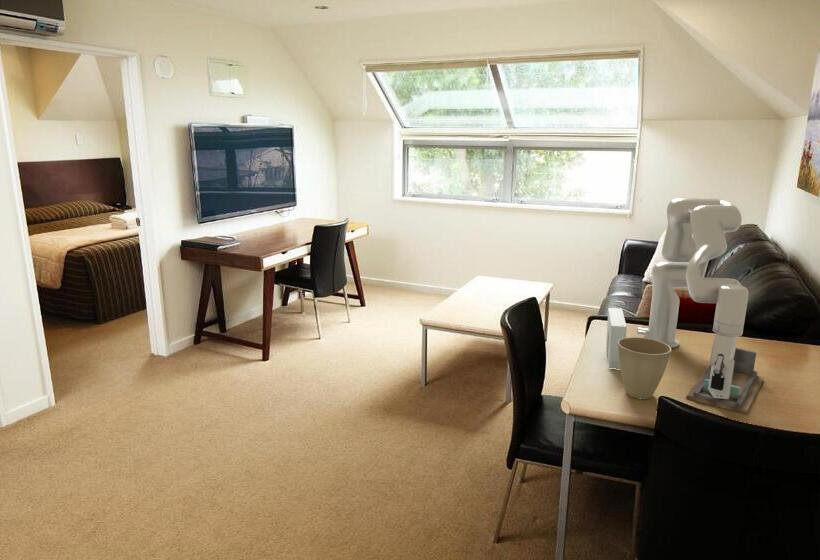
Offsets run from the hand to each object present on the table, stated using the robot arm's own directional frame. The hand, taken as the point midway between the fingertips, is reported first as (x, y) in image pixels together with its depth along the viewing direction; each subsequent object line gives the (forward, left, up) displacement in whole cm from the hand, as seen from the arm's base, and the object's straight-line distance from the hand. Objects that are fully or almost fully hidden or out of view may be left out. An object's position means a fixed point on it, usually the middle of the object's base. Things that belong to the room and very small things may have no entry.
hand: (719, 384), depth 169 cm
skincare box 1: (-36, +15, -6) cm, 39 cm away
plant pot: (-20, -9, -6) cm, 23 cm away
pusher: (0, +4, -5) cm, 6 cm away
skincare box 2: (0, 0, -3) cm, 3 cm away
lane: (0, +12, -6) cm, 14 cm away
